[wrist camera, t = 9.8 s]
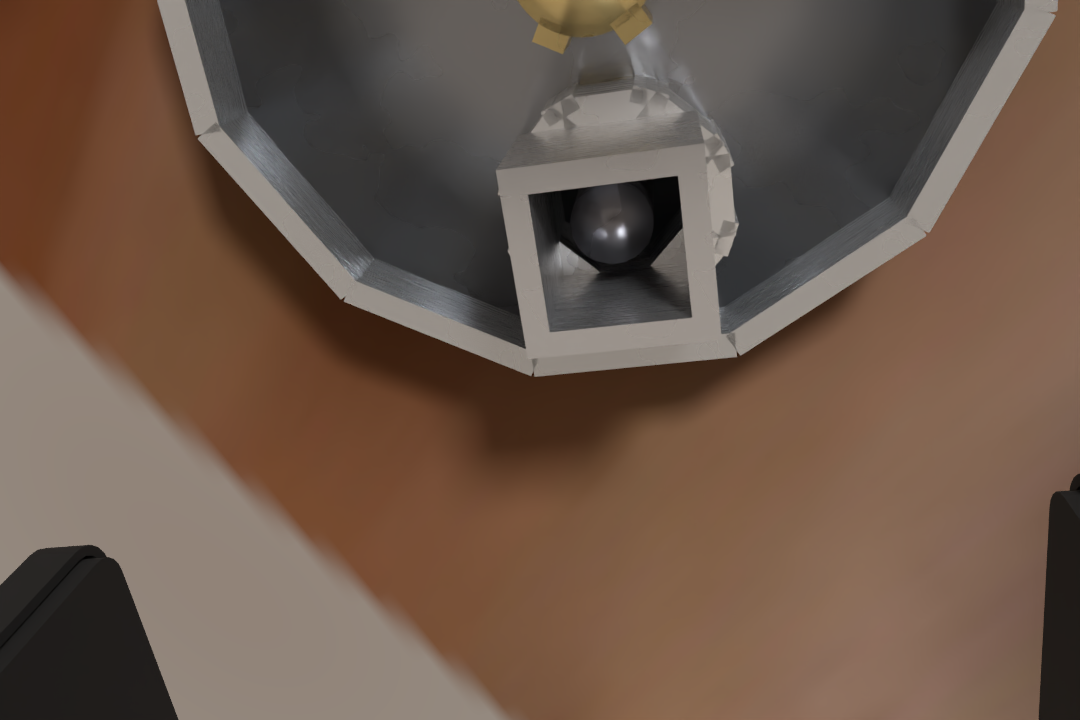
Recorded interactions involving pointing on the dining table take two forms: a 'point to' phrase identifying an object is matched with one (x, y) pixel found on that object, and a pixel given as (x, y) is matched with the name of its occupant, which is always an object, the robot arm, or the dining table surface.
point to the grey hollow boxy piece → (607, 158)
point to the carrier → (606, 210)
